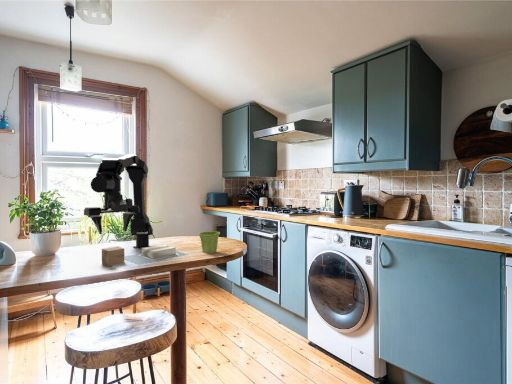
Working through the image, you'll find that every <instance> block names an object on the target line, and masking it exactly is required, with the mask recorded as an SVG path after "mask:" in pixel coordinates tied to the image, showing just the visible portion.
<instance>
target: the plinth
mask: <svg viewBox="0 0 512 384" xmlns="http://www.w3.org/2000/svg"><path fill="white" fill-rule="evenodd" d="M150 246H151V247H145V248H141V253H142V255H143V256H146V257H149V258H152V259H157V258H162V257H167V256H172V255H176V251H177V250H176V247H173V246H171V245H168V244H167V245H166V244H159V245H153V246H152V245H150Z"/></svg>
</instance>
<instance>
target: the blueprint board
mask: <svg viewBox="0 0 512 384" xmlns="http://www.w3.org/2000/svg"><path fill="white" fill-rule="evenodd" d="M188 255H189V254H188V253H185V252H181V251H177V250H176V255H172V256H167V257H162V258H157V259H152V258H149V257H146V256H143V255H142V252H140V253H136V254H130V255H124V261H128V262H129V263H133V264H136V265H144V264H148V263H153V262H154V263H155V262H159V261H164V260H167V259H169V260H170V259H174V258H178V257H183V256H188Z"/></svg>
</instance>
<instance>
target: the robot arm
mask: <svg viewBox="0 0 512 384" xmlns="http://www.w3.org/2000/svg"><path fill="white" fill-rule="evenodd" d="M125 171H126V172H127V174H128V179H129V181H131V183H132V191H133V199H132V198H126V199H124V198H123V194H122V187H121V183H122V182H121V181H122V180H123V178H122V177H121V174H122V173H124V172H125ZM148 173H149V168H148V166H147V163H146V162H145V161H143V160H142V159H141V158H140V157H139V156H138V155H136V154H125V155H124V156H121V157H118V158H103V159H102V160H101V162H100V163H99V165H98V168H97V171H96V174H95V177H93V178H92V179H91V182H90V188H91V190H92V191H94V193H103V194H102V198H104V200H103V203H104V204H103V206H102V208H101V207H98V206H92V207H91V206H88V207H85V208H84V209H83V216H87V218H90V219H91V221H92V222H93V223H94V226H95V228H96V230H97V232H98V234H99V235H102V234H103V227H102V218H103V216H102V215H101V214H110V213H111V214H112V213H113V214H114V213H116V214H117V213H122V224H123V231H124V232H127V230H128V227H130V235H131V236H135V246H132V248H133V249H142V248H145V247H151V246H152V245H150V238H149V237H150V236H152V235H153V233H154V229H153V226H152V224H151V222H150V217H149V216H148V215H147V213H146V202H145V201H146V199H145V198H146V197H145V182H146V180H147V178H148ZM129 225H130V226H129Z"/></svg>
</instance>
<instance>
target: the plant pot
mask: <svg viewBox="0 0 512 384" xmlns="http://www.w3.org/2000/svg"><path fill="white" fill-rule="evenodd" d="M220 234H221V232H220V231H211V230H210V231H201V232H198V236H199V239H200V242H201V243H200V244H201V250H202V253H204V254H205V253H207V254H208V253H209V254H210V253H217V252H216V251H217V250H218V243H219V242H218V241H219V236H220Z"/></svg>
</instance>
